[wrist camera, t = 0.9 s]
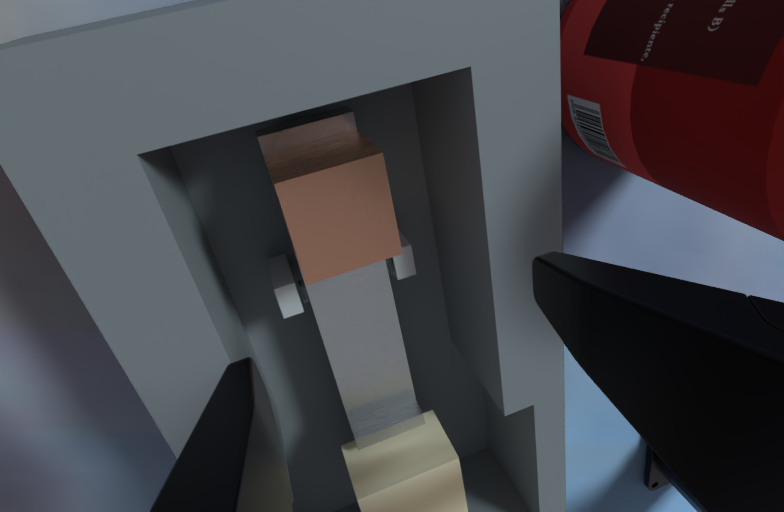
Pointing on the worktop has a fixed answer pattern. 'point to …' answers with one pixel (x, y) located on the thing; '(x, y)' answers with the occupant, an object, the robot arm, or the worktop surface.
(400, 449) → the beige block
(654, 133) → the canned food
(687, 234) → the worktop surface
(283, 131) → the ejector lever
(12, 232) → the worktop surface
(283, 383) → the pocket board
